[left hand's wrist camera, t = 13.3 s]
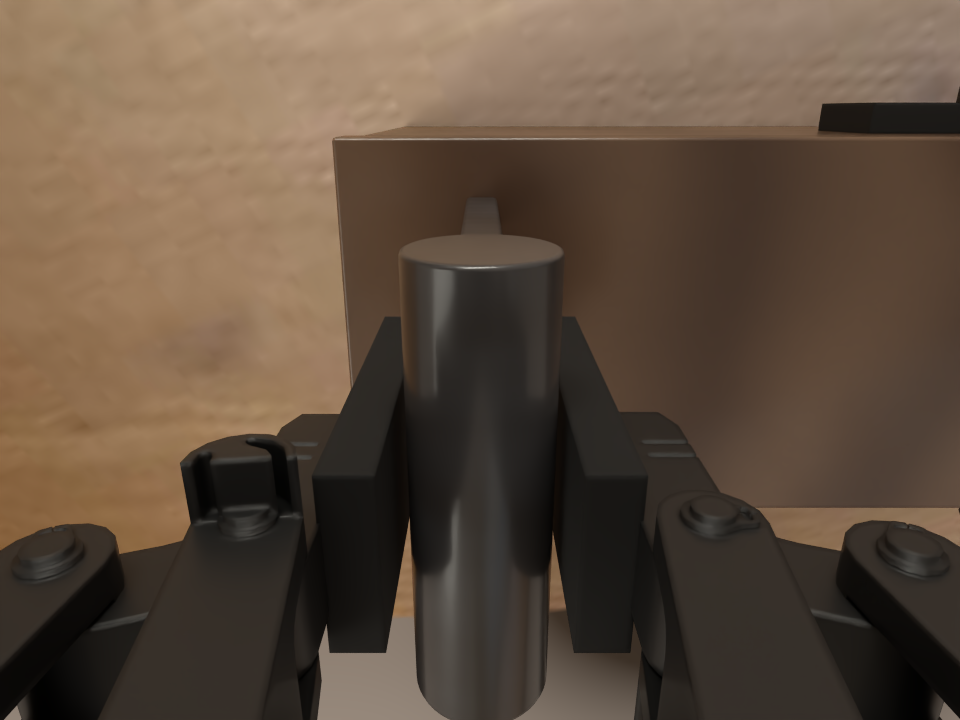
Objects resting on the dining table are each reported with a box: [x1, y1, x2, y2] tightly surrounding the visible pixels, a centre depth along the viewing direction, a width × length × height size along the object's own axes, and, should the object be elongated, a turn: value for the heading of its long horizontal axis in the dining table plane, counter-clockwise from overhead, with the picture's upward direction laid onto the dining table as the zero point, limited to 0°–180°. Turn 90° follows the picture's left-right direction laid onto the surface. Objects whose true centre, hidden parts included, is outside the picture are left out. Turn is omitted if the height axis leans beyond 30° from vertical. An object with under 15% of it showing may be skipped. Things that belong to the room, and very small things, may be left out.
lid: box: [332, 135, 960, 720], centre depth 13 cm, size 17×10×9 cm, turn 90°
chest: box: [365, 127, 960, 136], centre depth 22 cm, size 17×10×9 cm, turn 90°
